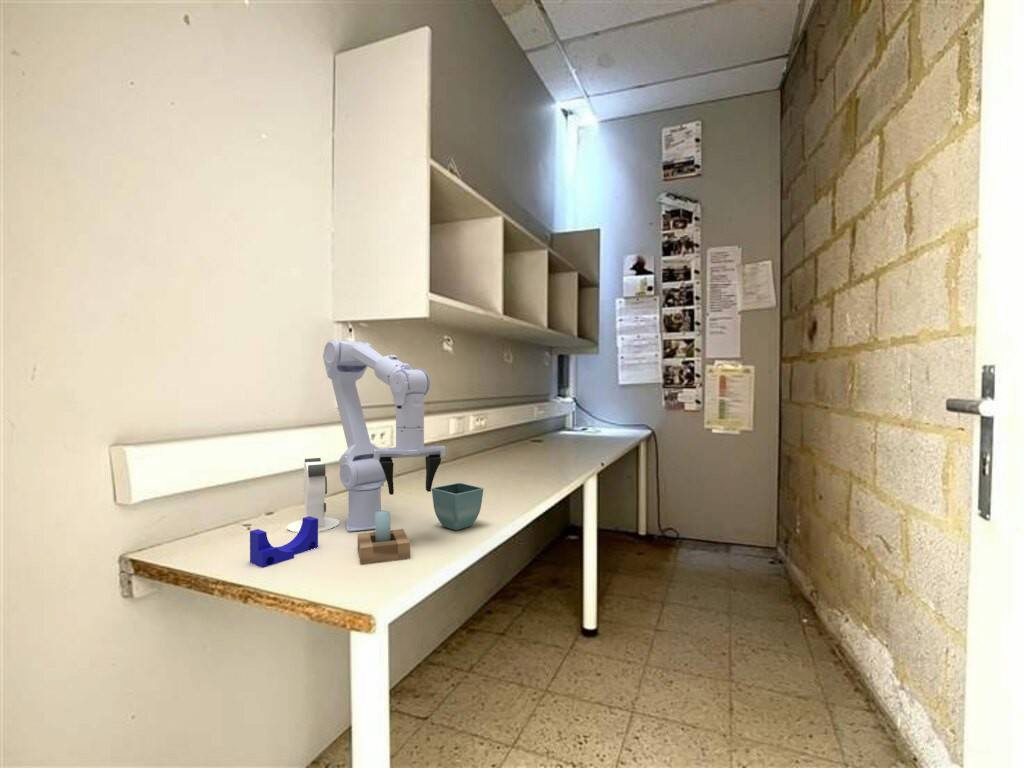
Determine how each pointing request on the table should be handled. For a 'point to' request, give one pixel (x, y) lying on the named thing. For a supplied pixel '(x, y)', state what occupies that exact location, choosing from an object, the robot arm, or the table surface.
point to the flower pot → (457, 504)
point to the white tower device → (315, 496)
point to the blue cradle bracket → (270, 555)
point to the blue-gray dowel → (382, 526)
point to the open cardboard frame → (383, 547)
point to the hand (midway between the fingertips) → (410, 492)
